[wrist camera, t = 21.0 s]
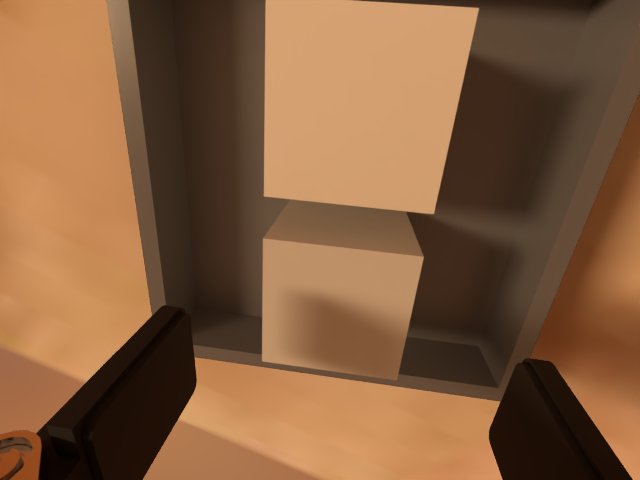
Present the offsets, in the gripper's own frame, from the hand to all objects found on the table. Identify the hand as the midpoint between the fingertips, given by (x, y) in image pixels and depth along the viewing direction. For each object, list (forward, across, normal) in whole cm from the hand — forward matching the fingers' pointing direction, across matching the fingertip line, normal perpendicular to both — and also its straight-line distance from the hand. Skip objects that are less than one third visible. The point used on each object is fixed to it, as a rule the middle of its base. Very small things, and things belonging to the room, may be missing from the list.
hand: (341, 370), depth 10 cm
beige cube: (+8, +1, 0) cm, 8 cm away
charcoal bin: (+9, +1, -3) cm, 10 cm away
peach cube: (+8, +1, -7) cm, 11 cm away
